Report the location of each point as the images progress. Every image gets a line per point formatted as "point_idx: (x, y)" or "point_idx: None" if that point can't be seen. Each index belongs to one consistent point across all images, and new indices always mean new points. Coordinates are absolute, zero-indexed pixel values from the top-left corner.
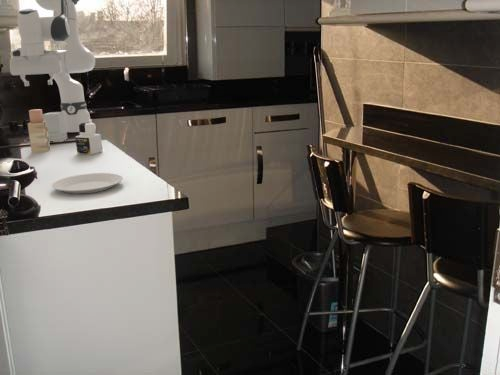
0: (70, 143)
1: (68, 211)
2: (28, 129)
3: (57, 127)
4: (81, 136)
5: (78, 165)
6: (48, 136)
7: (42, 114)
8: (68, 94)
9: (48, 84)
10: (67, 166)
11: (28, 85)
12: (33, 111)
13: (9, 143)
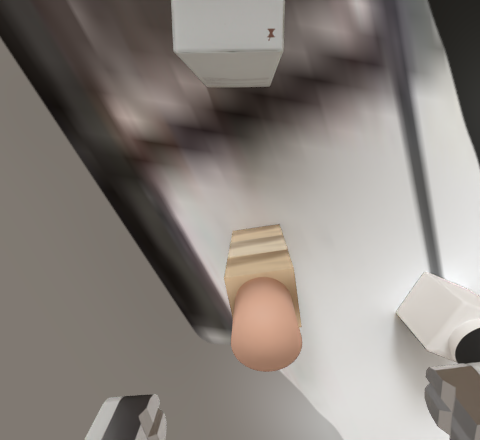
0: (319, 124)
1: None
2: None
3: (264, 73)
4: (452, 358)
5: (426, 424)
6: (284, 241)
7: (295, 314)
8: None
9: (432, 406)
10: (401, 429)
11: (163, 423)
12: (269, 368)
13: (49, 81)
